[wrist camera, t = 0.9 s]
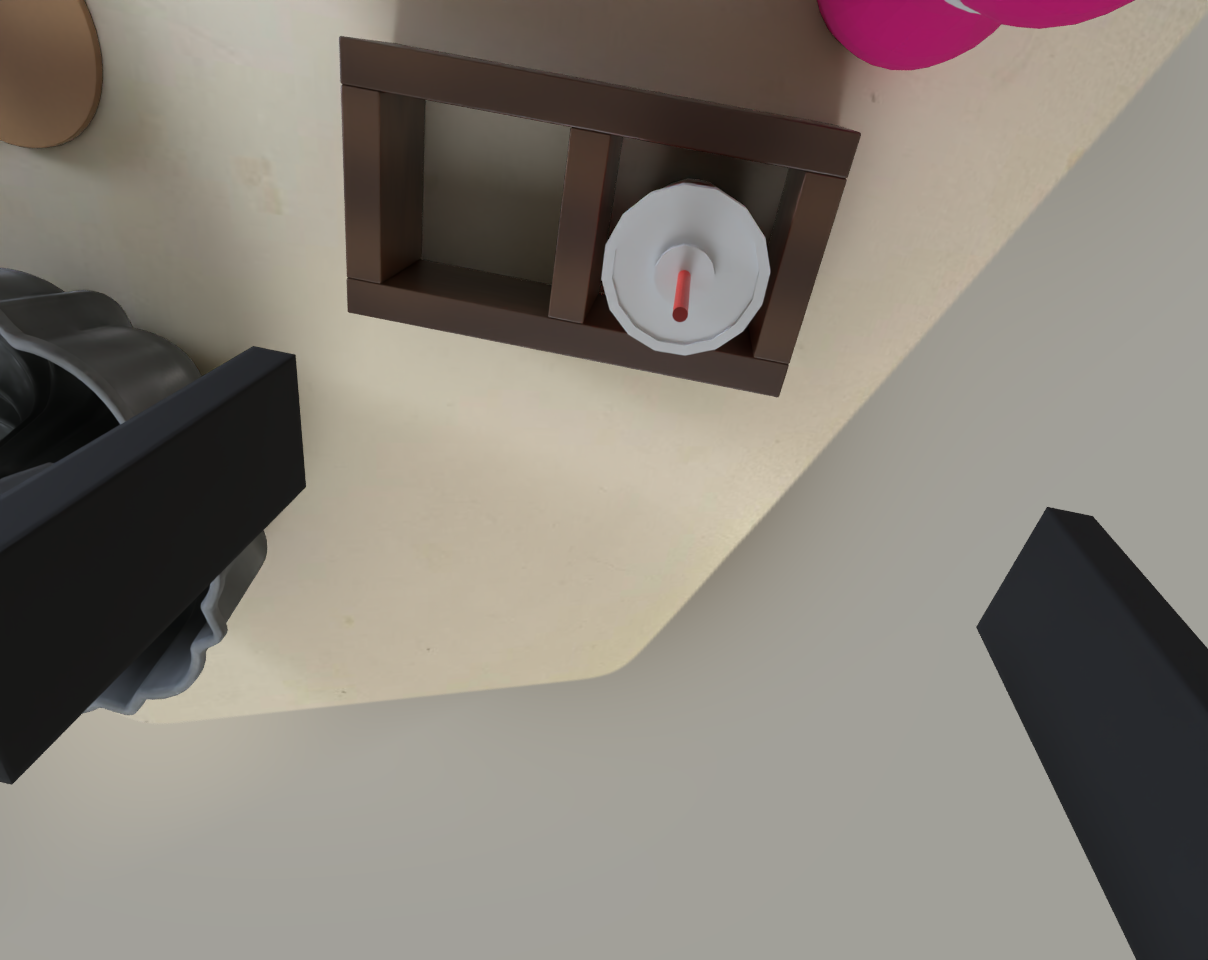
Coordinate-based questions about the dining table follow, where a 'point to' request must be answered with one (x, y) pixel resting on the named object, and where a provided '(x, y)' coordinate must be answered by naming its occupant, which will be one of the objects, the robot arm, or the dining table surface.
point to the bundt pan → (87, 411)
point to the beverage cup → (685, 268)
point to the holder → (568, 208)
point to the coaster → (47, 71)
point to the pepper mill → (941, 25)
